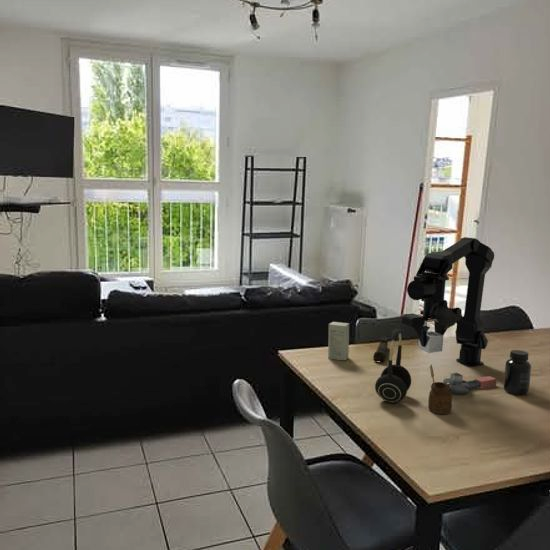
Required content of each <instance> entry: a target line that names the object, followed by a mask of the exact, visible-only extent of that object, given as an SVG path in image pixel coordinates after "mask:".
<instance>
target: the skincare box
mask: <svg viewBox="0 0 550 550" xmlns="http://www.w3.org/2000/svg"><path fill="white" fill-rule="evenodd" d="M349 346H350V323H349V322H341V321H340V322H339V321H332V322H330V323H328V347H327V348H328V349H327V351H328V352H327V353H328V357H327V358H328V359H329V360H330V359H331V360H336V361H346V360H348V358H349V351H350V350H349V349H350V348H349Z"/></svg>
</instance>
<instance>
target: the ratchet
mask: <svg viewBox="0 0 550 550" xmlns="http://www.w3.org/2000/svg"><path fill="white" fill-rule="evenodd" d="M451 373H452V375H451V374H450V375H451V376H450V375H449V377H446V378H444V379H443V381H442V382H443V383H447V384H449V385H450V386H451V388H452V391H451V393H452V396H453V395H454V396H466V395H468V394H469V391H471V390H474V389H482V388H488V387H493V386H496V384H497V378H496V377H492V376H490V375H488V376H482V377H476V378H474V379H473V380H468V381H466V380H464V374H463V375H462V374H460V373H458V372H451ZM451 379H454V380H451ZM444 380H445V381H446V382H445V381H444ZM451 382H452V383H451Z"/></svg>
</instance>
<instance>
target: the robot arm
mask: <svg viewBox="0 0 550 550" xmlns="http://www.w3.org/2000/svg"><path fill="white" fill-rule="evenodd" d="M462 258H464V260H465V262H464V263H465V268H466V269H467V271H468V280H467V281H468V282H467V288H466V289H467V290H466V295H465V297H466V298H465V305H464V313H462V312H463V311H462V308H461V307H448V300H446V299H445V293H446V281H449V280H450V277H449V276H448V275H447V274H448V273H449V272H450V271H451V270H453V268H454V267H453V264H455V263H456V262H458V261H459V260H461V259H462ZM494 260H495V252H494V251H493V250H492V248H491V247H489V246H488V245H486V244H484V243H482V242H481V241H480V239H478V238H475V237H466V236H464V237H461V238H460V240H459V241H457V242H454V243H453V244H452V245H450V246H448V247H446V248H445V249H443V250H439V251H432V252H429V253H427V254H426V255H425V256H424V258H423V259H422V261H421V263H420V266H419V267H418V269H417V271H416V274H415V276H414V277H413V280H411V281H410V282H409V283H408V285H407V287H406V293H407V295H408V297H409V298H410V299H411V300H414V301H421V302H423V309H422V310H420V311H419V313H420V314H416V313H414V312H413V313H405V314H403V315H402V316H401V323H402V324H404V325H405V326H408V327H410V328H413V329H414V330H415V332H416V335H417V337H418V341H419V340H420V343H421V345H422V347H425V344H426V336H427V331H429V330H430V328H431V327H430V326H429V325H428V323H430V322H433V325H434V326H433V327H434V332H437V333H439V334H441V335H443V337H445V336H444V335H445V333H446V332H447V330H448V329H449V328H451V327H453V326H455V325H456V328H455V338H456V339H455V340H456V344H457V345H458V344H459V345H460V349H459V358H456V360H455V361H457V362H458V363H461V364H463V365H465V366H468V367H474V366H475V367H476V366H481V365H484V363H485V362H483V361H482V360H481V359H482V350H485V349H486V348H487V346H488V343H489V340H488V338H487V336H486V334H485V333H484V323H483V322H482V320H481V316H480V315H481V309H482V308H481V307H482V301H483V295H484V294H483V293H484V286H485V285H484V284H485V278H486V274H487V272H488V271H490V269H492V267H493V266H492V265H493V262H494Z"/></svg>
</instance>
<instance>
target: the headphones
mask: <svg viewBox="0 0 550 550" xmlns="http://www.w3.org/2000/svg"><path fill="white" fill-rule="evenodd" d="M397 338H398V346H397V354H396V360H395V364H393V354H394V353H393V351H394V348H395V347H394V346H395V342H396V340H397ZM402 345H403V344H402V329H400V328H395V329H393V330H392V334H391V344H390V350H389V355H388V357H389V358H388V364H387V365H388V366H387V367H385V368H384V369H383V371H382V372H381V374H380V376H379V377H378V378H377V379H376V382H375V385H374V390H375V392H376V394H377V395H378V397H380V398H381V399H382V400H384V401H386V402H388V403H399V402H402V401H403V400H404V399H405V398H406V397H407V393H408V391H409V389H410V387H411V385H412V377H411V373H410V372H409V371H408V369H407V368H405V366H403V365H401V363H402V347H403V346H402Z"/></svg>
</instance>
